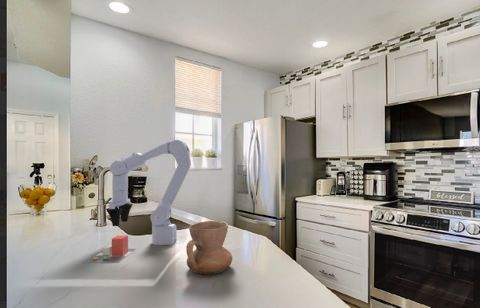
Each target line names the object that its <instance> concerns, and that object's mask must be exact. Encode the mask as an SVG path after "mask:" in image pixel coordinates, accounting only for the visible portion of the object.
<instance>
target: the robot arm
mask: <svg viewBox="0 0 480 308" xmlns="http://www.w3.org/2000/svg"><path fill="white" fill-rule="evenodd" d="M165 154H166V155H172V156H173V157H174V159H175V162H176V163H177V167H176V168H175V171H174V173H173V175H172V177H171V180H170V181H169V183H168V186H167V188H166V190H165V192H164V194H163V197H162V199H161V201H160V202H159V204H158V205H157V207H156V209H154V210H153V211H152V212H151V214H150V217H149V218H150V221H151V228H152V229H151V238H152V239H151V243H152V245H153V246H164V245H166V246H167V245H171V246H173V245H174V244H175V243H176V242H177V241H178V239H177V236H178V235H177V233H178V232H177V225H176V224H175V223H171V221H170V218H171V216H172V209H173V206H174V202H175V200H176V198H177V196H178V194H179V192H180V190H181V187H182V185H183V183H184V181H185V179H186V176H187V175H188V173H189V170H190V168H191V166H192V161H191V156H190V155H191V154H190V148H189V146H188V144H187V143H186V142H184V141H183V140H179V139H173V140H172V141H167V142H165V143H162V144H160V145H158V146H156V147H154V148H152V149H150V150H147V151H146V152H144V153H140V152H132V153H131V155H128V156H127V157H122V158H121V159H120V160H114V161H113V162H112V163H111V164H110V167H109V171H110V173H111V174H112V182H111V183H112V184H111V185H112V194H111V195H112V200H110V201H109V204H108V208H106V212H107V213H108V215H109V217H110V220H111V225H112V227H119V226H120V221H121V222H122V223H125V222H126V223H127V222H128V219H129V214H130V212H131V209H132V207H133V203H131V199H130V198H128V195H129V193H128V192H129V190H128V188H129V187H128V183H129V182H128V180H129V179H128V174H129V172H132V171H134V170H136V169H139V168H141V167H143V166H145V165H146V162H147V161H149V160H151V159H155V158H156V157H159V156H162V155H165Z"/></svg>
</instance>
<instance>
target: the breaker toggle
mask: <svg viewBox="0 0 480 308" xmlns="http://www.w3.org/2000/svg"><path fill="white" fill-rule="evenodd" d="M102 251H103V255H111V254H112V243H111V244H110V243H109V244H106V245H105V246H103V247H102Z"/></svg>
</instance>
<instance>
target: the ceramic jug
mask: <svg viewBox="0 0 480 308" xmlns="http://www.w3.org/2000/svg"><path fill="white" fill-rule="evenodd" d="M228 225H229V224H228V223H227V222H226V221H220V220H205V221H199V222H196V223H193V224H190V225H189V227H188V229H189V234H190V237H191V239H190V240H189V241H188V242H187V243H186V247H185V250H186V256H187V259H186V265H187V268H188V269H189V270H191V272H194V273H196V274H202V275H213V274H218V273H221V272H223V271H225V270H227V269H228V268H229V267H230V266H231V264H232V261H233V254H232V252H230V250H229V249H226V248H225V247H224V246H223V245H224V243H225V241H226V238H227V234H228V232H229V231H228V229H229V227H228ZM194 246H195V249H194Z"/></svg>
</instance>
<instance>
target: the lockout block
mask: <svg viewBox="0 0 480 308" xmlns="http://www.w3.org/2000/svg"><path fill="white" fill-rule="evenodd" d="M111 244H112V256H123V255H125V254H126V253H127V252H128V249H129V235H116V236H113V237H112V238H111Z"/></svg>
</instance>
